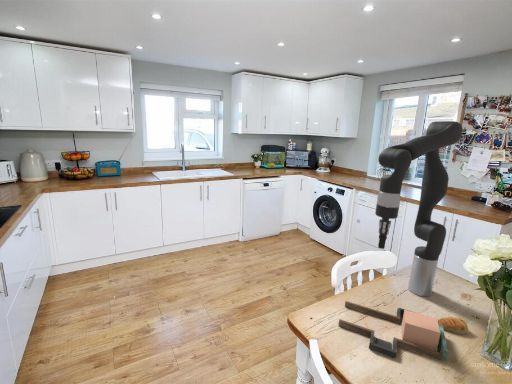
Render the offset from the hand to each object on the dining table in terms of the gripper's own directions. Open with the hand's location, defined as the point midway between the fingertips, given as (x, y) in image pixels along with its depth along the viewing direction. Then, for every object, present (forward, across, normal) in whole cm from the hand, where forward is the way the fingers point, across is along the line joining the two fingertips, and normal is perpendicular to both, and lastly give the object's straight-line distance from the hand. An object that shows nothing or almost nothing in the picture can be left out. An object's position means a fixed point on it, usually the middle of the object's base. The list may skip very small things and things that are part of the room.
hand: (381, 247), depth 105 cm
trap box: (+27, +9, +6) cm, 29 cm away
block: (+27, +9, +16) cm, 33 cm away
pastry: (+28, -5, +28) cm, 39 cm away
